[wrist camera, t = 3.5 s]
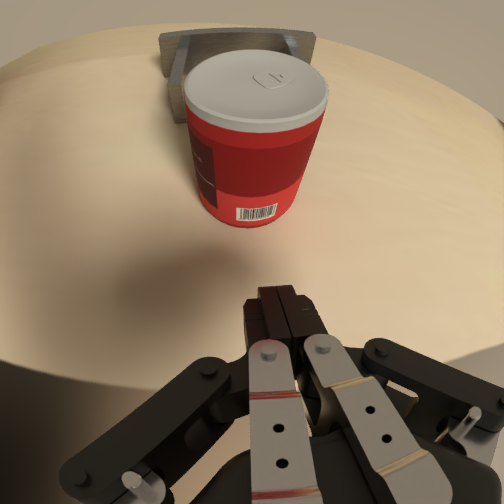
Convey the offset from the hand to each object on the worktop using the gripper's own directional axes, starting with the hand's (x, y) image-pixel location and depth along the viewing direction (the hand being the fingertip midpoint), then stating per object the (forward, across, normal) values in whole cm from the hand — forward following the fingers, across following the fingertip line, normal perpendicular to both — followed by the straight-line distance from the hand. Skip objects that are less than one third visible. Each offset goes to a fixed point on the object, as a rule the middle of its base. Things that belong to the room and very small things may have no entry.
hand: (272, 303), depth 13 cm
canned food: (+13, 0, -2) cm, 13 cm away
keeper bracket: (+23, 0, -13) cm, 26 cm away
